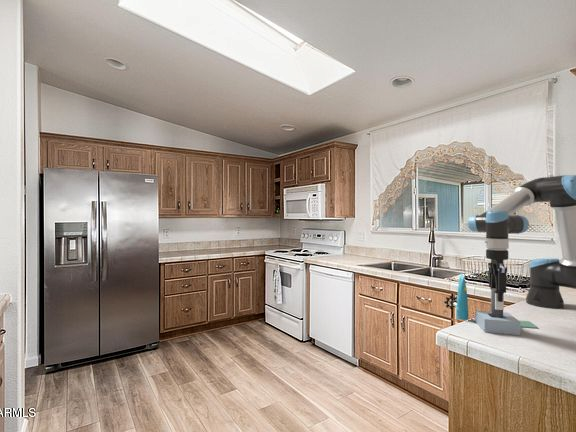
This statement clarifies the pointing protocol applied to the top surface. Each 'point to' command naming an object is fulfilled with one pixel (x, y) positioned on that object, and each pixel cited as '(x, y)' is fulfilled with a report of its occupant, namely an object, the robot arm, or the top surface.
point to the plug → (494, 312)
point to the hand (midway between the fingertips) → (497, 307)
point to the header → (497, 323)
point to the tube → (462, 300)
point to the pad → (527, 324)
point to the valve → (451, 302)
